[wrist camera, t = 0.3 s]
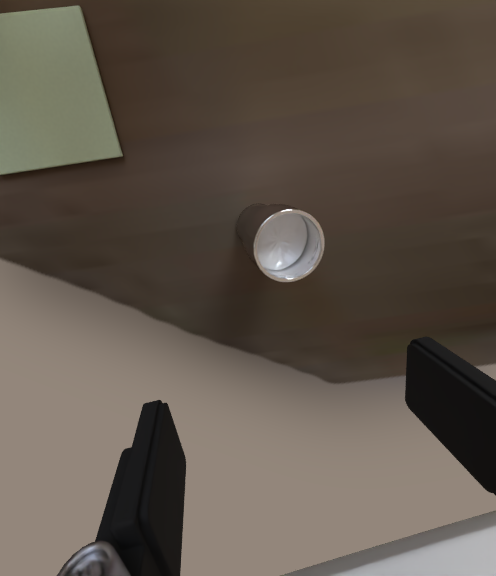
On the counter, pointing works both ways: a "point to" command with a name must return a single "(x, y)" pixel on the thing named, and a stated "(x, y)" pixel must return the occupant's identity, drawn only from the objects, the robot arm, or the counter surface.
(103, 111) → the mat
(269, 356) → the counter surface
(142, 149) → the counter surface
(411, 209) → the counter surface
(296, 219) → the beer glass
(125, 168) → the counter surface
